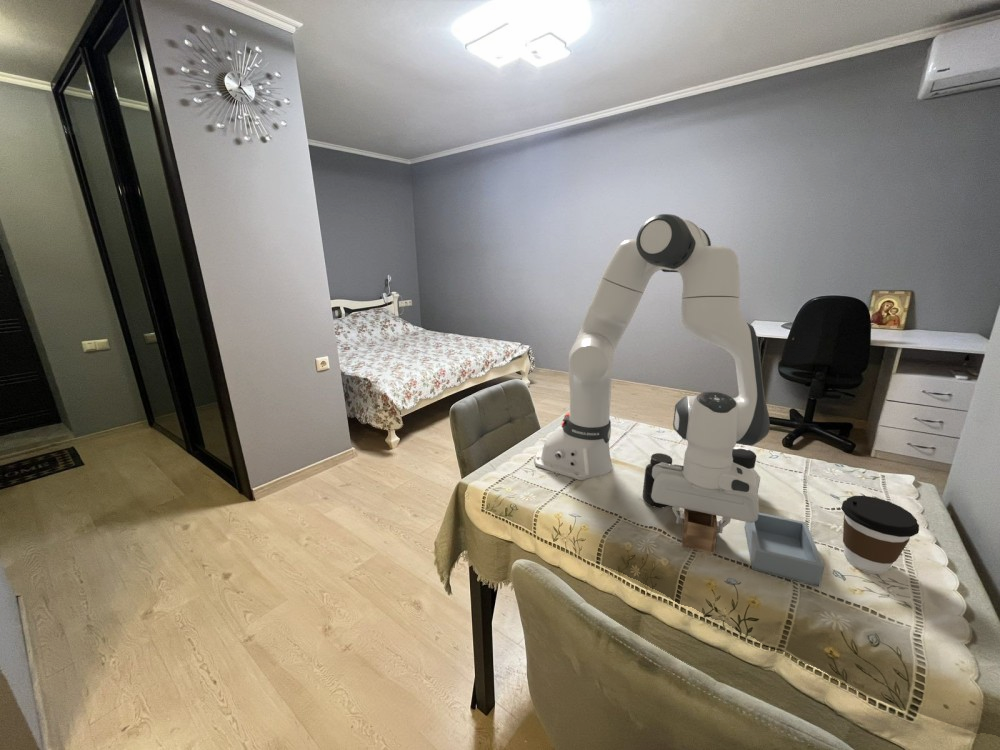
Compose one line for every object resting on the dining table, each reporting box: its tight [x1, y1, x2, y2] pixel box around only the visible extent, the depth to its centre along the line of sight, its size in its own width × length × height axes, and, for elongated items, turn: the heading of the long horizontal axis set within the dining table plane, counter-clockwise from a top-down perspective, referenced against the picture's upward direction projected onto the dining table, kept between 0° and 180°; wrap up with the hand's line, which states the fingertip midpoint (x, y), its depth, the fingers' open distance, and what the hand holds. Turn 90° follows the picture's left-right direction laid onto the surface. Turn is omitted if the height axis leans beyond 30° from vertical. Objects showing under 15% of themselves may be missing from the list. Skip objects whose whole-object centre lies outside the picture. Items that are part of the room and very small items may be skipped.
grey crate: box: [744, 512, 825, 588], centre depth 81 cm, size 11×14×4 cm
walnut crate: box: [681, 508, 718, 555], centre depth 87 cm, size 6×9×6 cm, turn 155°
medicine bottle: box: [732, 446, 761, 495], centre depth 101 cm, size 7×7×12 cm
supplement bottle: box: [642, 452, 673, 509], centre depth 99 cm, size 7×7×12 cm
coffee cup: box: [840, 495, 920, 575], centre depth 78 cm, size 11×11×12 cm
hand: (698, 526), depth 87 cm, fingers closed on walnut crate, 6 cm apart
